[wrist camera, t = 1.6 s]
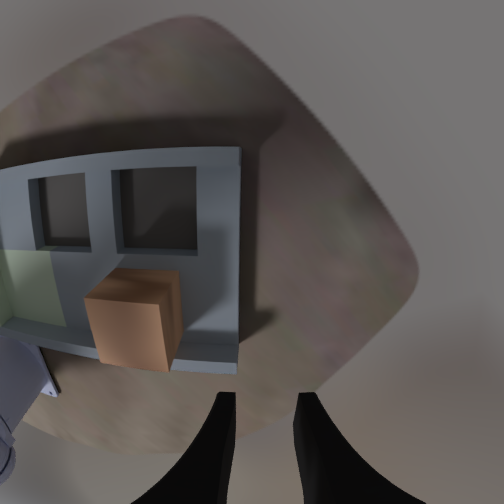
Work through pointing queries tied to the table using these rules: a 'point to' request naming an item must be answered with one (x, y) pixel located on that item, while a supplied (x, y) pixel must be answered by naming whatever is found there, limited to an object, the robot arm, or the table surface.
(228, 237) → the tray
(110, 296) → the block
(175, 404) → the table surface
